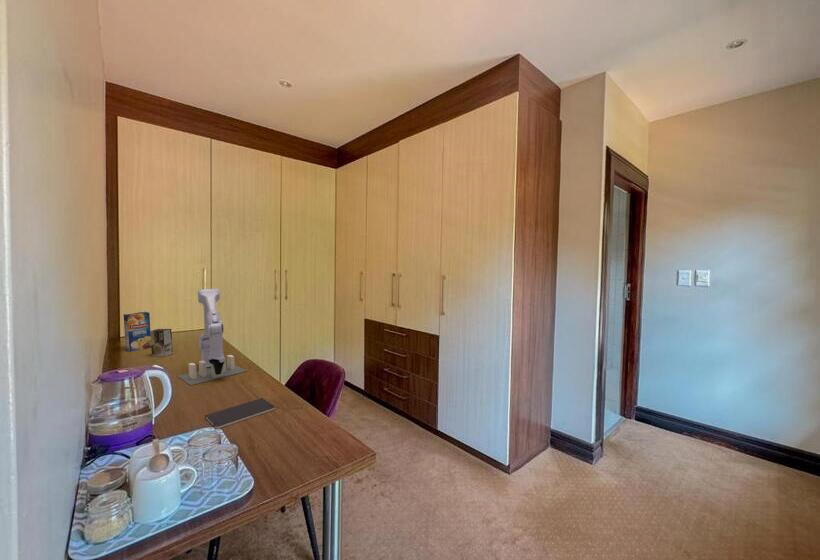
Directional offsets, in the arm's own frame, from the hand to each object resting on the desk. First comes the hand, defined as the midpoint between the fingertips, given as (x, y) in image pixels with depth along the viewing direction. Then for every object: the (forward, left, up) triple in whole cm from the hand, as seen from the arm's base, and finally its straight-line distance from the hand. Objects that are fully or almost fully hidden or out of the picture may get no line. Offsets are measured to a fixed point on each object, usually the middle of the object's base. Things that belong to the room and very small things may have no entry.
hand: (217, 373), depth 168 cm
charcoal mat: (-8, 0, -2) cm, 8 cm away
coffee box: (-71, -7, -2) cm, 71 cm away
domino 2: (-8, -4, -2) cm, 9 cm away
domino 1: (-8, -9, -2) cm, 12 cm away
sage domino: (0, 0, -2) cm, 2 cm away
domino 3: (-8, +5, -2) cm, 10 cm away
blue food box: (-102, -13, -2) cm, 103 cm away
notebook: (+50, -10, -3) cm, 51 cm away
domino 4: (-8, +9, -2) cm, 13 cm away
